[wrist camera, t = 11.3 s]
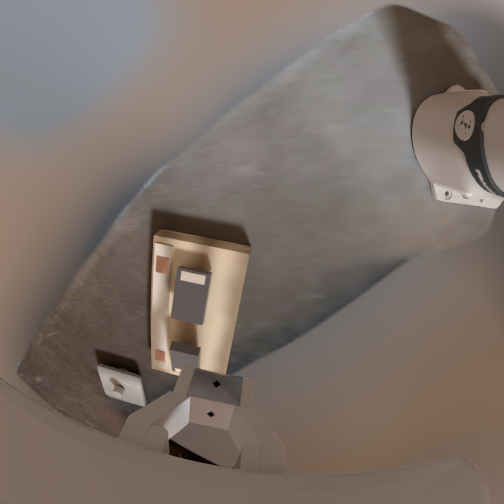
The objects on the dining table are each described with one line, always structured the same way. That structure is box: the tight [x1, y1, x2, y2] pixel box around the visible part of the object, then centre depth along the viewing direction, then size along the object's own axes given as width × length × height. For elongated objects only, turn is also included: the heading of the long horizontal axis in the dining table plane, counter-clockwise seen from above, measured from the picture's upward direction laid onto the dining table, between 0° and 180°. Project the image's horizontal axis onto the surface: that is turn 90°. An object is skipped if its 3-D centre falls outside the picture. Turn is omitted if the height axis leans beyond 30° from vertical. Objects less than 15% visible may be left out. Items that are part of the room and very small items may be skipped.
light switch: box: [97, 363, 146, 406], centre depth 50 cm, size 10×10×5 cm
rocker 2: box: [169, 341, 201, 373], centre depth 41 cm, size 4×7×2 cm, turn 169°
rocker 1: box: [171, 266, 213, 325], centre depth 37 cm, size 4×7×2 cm, turn 169°
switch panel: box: [151, 229, 251, 375], centre depth 42 cm, size 13×25×4 cm, turn 169°
